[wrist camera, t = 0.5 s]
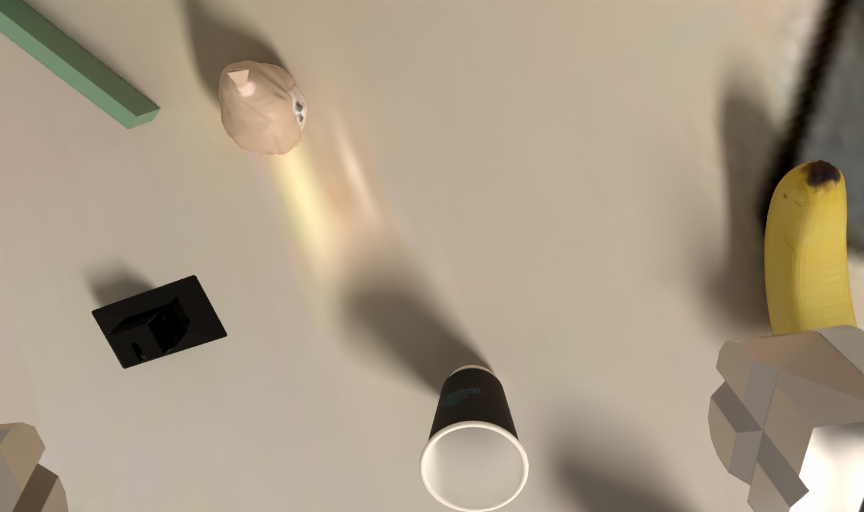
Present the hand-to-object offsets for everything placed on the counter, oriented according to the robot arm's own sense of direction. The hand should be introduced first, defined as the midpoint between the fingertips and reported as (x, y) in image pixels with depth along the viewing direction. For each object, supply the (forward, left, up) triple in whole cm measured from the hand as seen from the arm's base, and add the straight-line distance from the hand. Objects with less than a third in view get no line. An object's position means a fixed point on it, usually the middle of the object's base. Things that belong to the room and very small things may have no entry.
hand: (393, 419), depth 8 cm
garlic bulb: (+5, -13, -45) cm, 47 cm away
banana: (+11, +30, -45) cm, 55 cm away
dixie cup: (+26, +7, -45) cm, 52 cm away
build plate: (+25, -21, -45) cm, 56 cm away
